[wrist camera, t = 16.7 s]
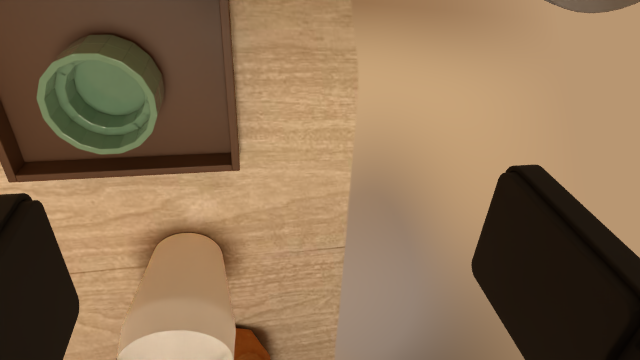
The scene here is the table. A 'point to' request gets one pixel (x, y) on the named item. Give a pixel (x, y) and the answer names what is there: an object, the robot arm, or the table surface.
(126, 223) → the table surface
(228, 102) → the tray
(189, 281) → the cup
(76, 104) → the bowl
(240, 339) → the bread
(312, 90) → the table surface
